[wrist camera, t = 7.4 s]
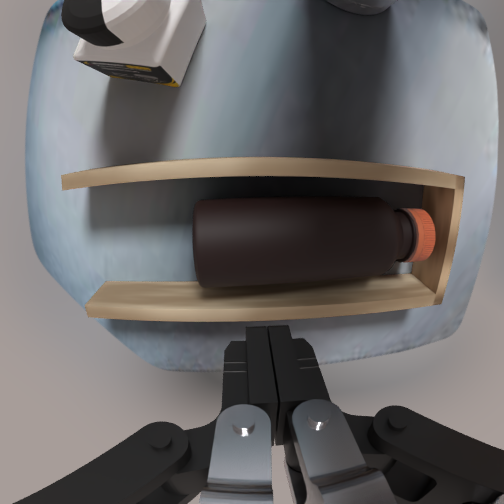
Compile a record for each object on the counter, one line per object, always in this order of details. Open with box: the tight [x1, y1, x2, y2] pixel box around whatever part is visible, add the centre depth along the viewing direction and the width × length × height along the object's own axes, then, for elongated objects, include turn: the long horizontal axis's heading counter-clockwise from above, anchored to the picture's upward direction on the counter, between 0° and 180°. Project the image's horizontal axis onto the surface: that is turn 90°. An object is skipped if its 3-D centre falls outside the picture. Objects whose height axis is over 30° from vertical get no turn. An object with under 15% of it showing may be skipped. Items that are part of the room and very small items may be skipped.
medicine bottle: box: [61, 0, 206, 87], centre depth 13 cm, size 7×7×12 cm
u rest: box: [61, 157, 465, 322], centre depth 23 cm, size 12×33×5 cm, turn 90°
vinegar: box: [192, 196, 436, 288], centre depth 23 cm, size 7×7×20 cm
